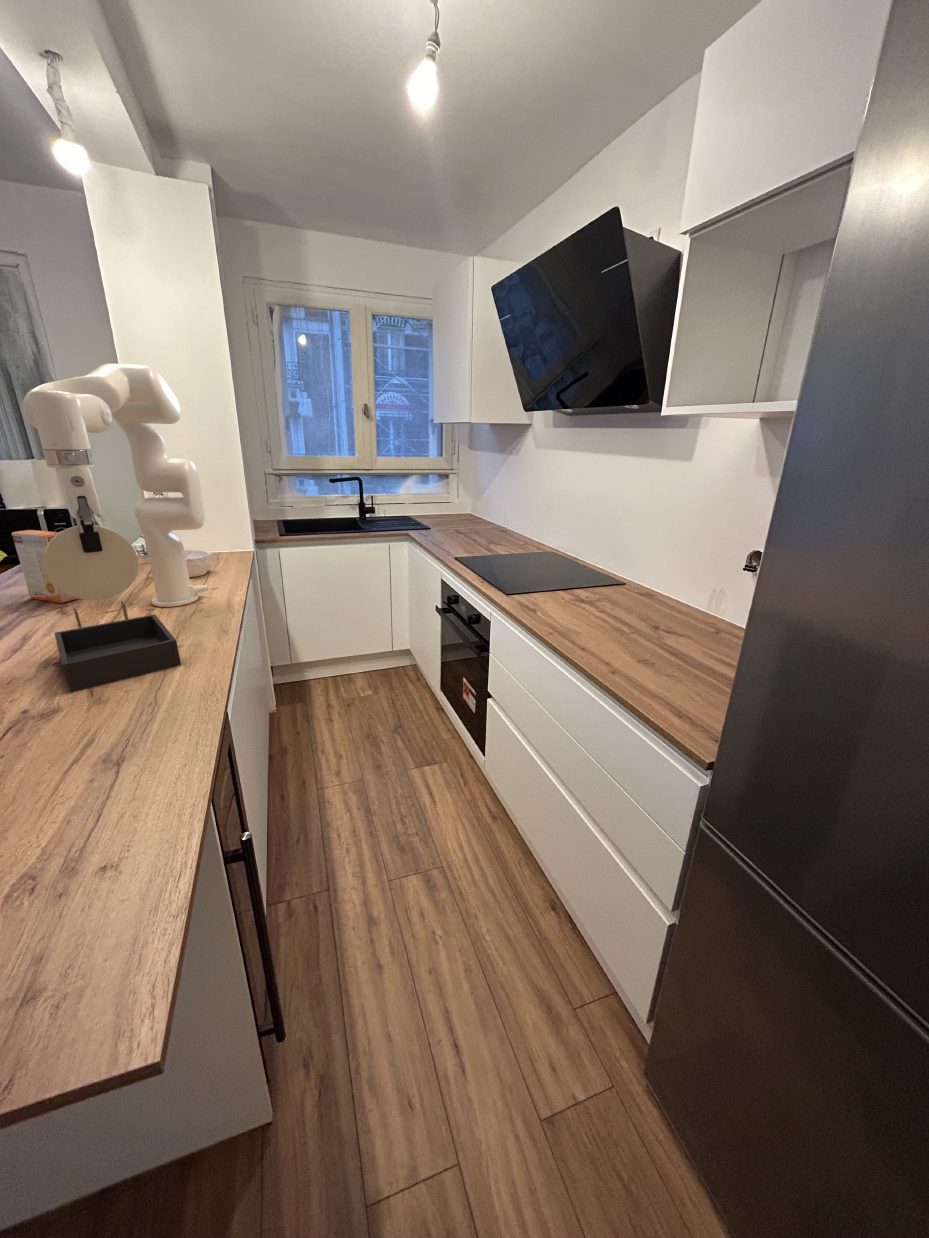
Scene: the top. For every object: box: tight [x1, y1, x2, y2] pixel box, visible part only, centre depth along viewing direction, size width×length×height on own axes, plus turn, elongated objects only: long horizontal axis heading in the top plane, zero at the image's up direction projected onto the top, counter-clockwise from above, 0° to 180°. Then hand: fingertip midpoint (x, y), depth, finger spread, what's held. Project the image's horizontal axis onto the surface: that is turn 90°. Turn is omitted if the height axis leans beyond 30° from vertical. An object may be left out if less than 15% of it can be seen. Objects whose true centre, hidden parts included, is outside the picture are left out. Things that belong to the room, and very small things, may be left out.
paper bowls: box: [184, 549, 214, 578], centre depth 179 cm, size 15×15×8 cm
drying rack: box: [73, 600, 130, 628], centre depth 126 cm, size 16×8×7 cm, turn 131°
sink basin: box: [54, 613, 182, 693], centre depth 110 cm, size 20×22×6 cm
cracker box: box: [11, 529, 79, 604], centre depth 148 cm, size 14×6×21 cm, turn 71°
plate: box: [43, 525, 140, 601], centre depth 103 cm, size 16×1×16 cm, turn 131°
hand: (92, 550), depth 102 cm, fingers closed on plate, 1 cm apart
